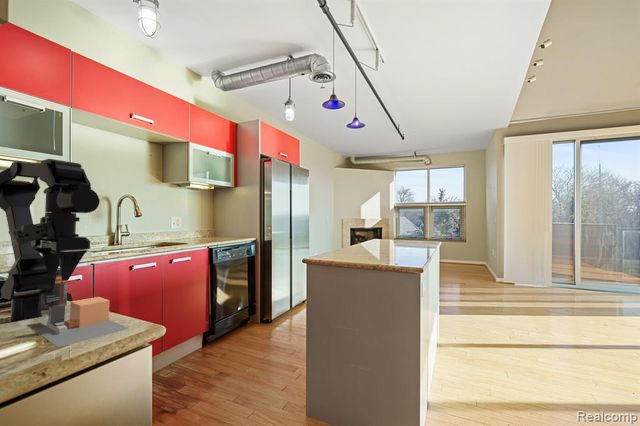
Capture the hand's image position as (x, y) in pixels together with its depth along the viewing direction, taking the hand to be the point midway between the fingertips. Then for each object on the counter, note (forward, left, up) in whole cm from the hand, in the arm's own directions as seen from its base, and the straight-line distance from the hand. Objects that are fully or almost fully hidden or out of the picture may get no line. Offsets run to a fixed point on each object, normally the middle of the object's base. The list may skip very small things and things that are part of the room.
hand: (58, 278), depth 71 cm
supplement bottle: (-22, +5, -12) cm, 26 cm away
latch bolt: (+1, -1, -9) cm, 10 cm away
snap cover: (+3, +5, -11) cm, 13 cm away
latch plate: (+8, +2, -12) cm, 15 cm away
